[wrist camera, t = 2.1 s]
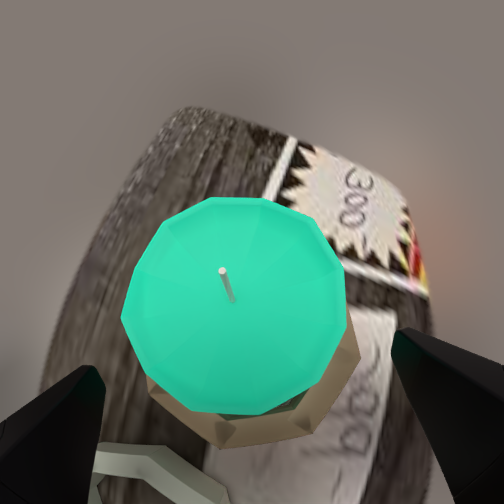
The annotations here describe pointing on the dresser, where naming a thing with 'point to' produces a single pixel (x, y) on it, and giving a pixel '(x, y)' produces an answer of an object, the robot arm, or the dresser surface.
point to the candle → (236, 305)
